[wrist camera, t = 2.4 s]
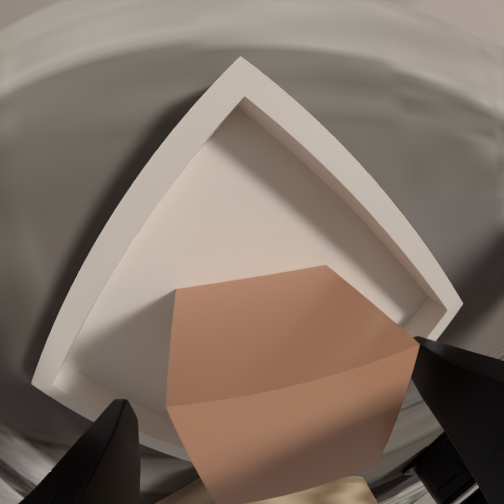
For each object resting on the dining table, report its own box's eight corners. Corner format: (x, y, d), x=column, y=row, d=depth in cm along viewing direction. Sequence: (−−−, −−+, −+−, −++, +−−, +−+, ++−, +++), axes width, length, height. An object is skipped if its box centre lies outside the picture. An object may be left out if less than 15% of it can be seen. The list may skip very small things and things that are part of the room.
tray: (435, 286, 12) (463, 303, 10) (270, 454, 13) (278, 481, 12) (230, 77, 8) (240, 56, 6) (48, 354, 9) (31, 383, 8)
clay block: (325, 265, 10) (419, 343, 5) (322, 374, 11) (377, 464, 7) (175, 288, 9) (165, 406, 4) (204, 399, 11) (217, 506, 6)
